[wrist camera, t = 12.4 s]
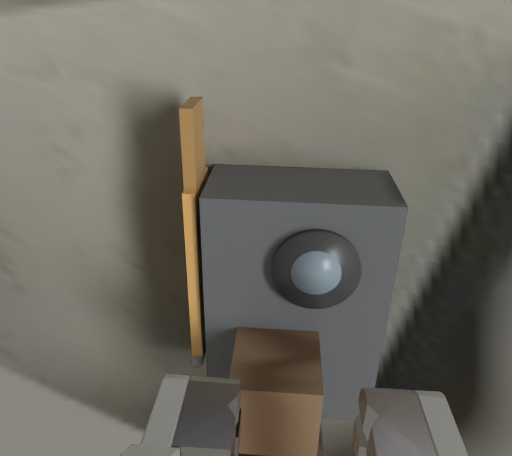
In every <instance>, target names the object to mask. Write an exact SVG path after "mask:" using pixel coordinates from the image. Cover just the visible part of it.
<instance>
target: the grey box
mask: <svg viewBox="0 0 512 456" xmlns="http://www.w3.org/2000/svg"><path fill="white" fill-rule="evenodd" d="M199 204H200V226H201V249H202V272H203V294H204V317H205V340H206V362H207V377H215V378H226V379H229V375H230V369H231V363H232V357H233V351H234V345H235V339H236V333H237V327H248V328H265V329H282V330H299V331H315V332H319V341H320V353H321V366H322V379H323V392H324V398H323V406H322V415H321V418H336V419H350V420H355V418H356V417H357V416H358V415H359V414H360V410H359V404H358V400H359V394H360V391H361V388H362V387H364V388H375V383H376V378H377V372H378V367H379V362H380V356H381V351H382V346H383V340H384V335H385V329H386V324H387V319H388V313H389V308H390V302H391V297H392V292H393V286H394V281H395V276H396V270H397V265H398V259H399V254H400V249H401V243H402V238H403V232H404V227H405V222H406V216H407V211H408V206H407V204H406V202H405V201H404V199H403V197H402V195H401V193H400V191H399V190H398V188H397V186H396V184H395V182H394V180H393V178H392V177H391V175H390V173H389V171H375V170H349V169H324V168H299V167H274V166H248V165H223V164H215V165H214V167H213V169H212V171H211V174H210V176H209V178H208V180H207V182H206V185H205V187H204V189H203V191H202V193H201V195H200V198H199Z"/></svg>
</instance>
